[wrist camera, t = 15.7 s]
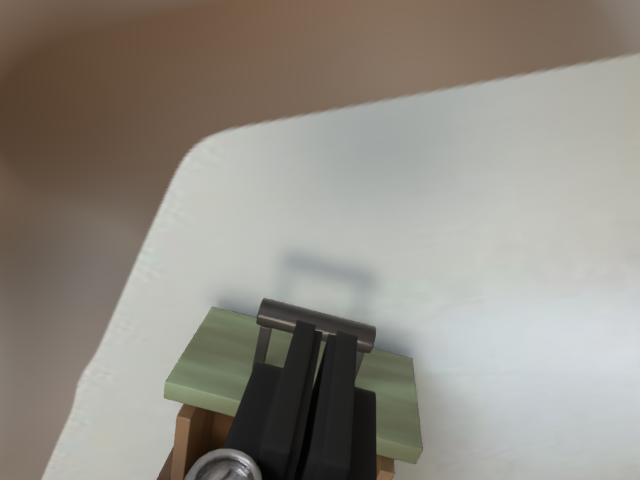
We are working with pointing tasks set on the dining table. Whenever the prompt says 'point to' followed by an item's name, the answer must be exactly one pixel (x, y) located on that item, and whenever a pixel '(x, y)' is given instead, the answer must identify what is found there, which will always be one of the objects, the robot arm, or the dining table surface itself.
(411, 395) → the drawer
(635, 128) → the dining table surface
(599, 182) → the dining table surface
